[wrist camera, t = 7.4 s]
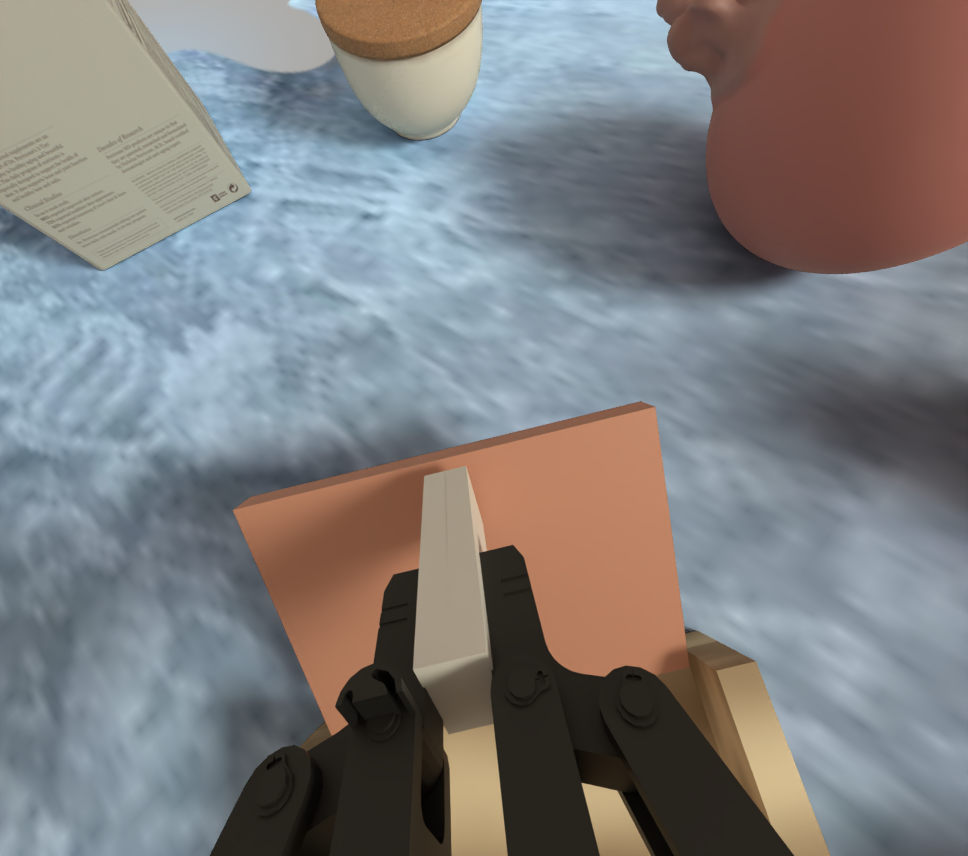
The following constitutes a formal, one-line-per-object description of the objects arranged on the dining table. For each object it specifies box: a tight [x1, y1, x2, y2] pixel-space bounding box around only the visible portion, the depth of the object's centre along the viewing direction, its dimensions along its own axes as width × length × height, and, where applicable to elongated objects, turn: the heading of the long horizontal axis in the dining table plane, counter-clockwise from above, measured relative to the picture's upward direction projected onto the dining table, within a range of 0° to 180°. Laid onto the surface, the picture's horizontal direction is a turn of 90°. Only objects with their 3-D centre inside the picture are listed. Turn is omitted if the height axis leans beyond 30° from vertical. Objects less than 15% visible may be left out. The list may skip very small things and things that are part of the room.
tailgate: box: [233, 401, 689, 736], centre depth 16 cm, size 2×16×12 cm
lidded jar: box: [315, 0, 483, 140], centre depth 27 cm, size 11×11×9 cm
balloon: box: [656, 0, 968, 274], centre depth 19 cm, size 15×20×15 cm
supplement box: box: [0, 0, 251, 270], centre depth 23 cm, size 13×13×18 cm
